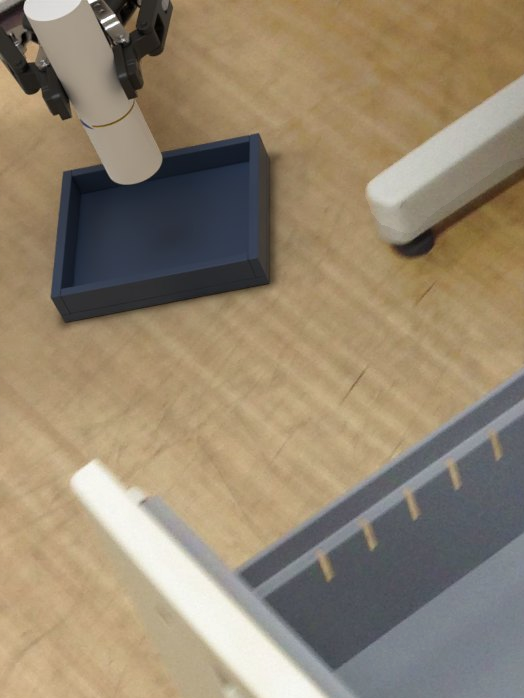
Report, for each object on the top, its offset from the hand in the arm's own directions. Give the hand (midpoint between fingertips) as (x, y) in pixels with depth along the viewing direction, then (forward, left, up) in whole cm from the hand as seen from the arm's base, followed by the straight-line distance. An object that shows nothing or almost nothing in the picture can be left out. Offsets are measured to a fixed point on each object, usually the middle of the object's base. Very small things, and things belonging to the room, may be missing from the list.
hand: (95, 98), depth 128 cm
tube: (0, +3, -9) cm, 9 cm away
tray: (-1, +4, -17) cm, 18 cm away
